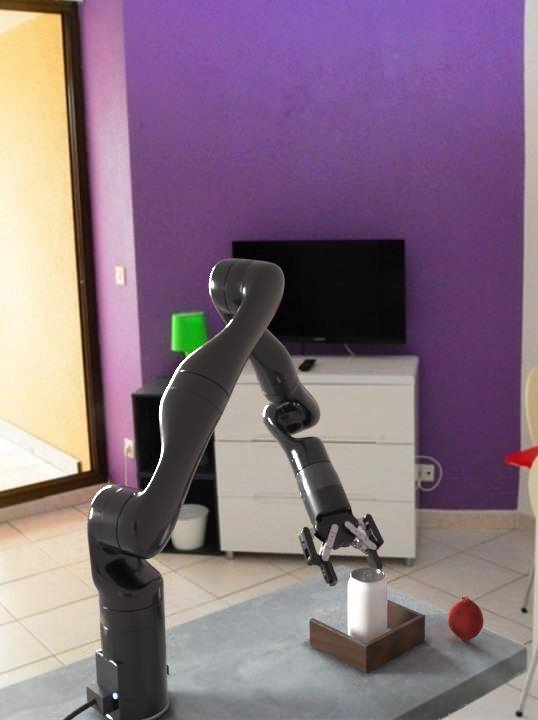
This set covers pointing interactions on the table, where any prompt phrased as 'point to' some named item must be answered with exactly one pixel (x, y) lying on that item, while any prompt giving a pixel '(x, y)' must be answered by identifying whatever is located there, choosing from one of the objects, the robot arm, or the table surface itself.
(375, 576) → the can
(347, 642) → the frame
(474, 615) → the onion
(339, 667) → the table surface
